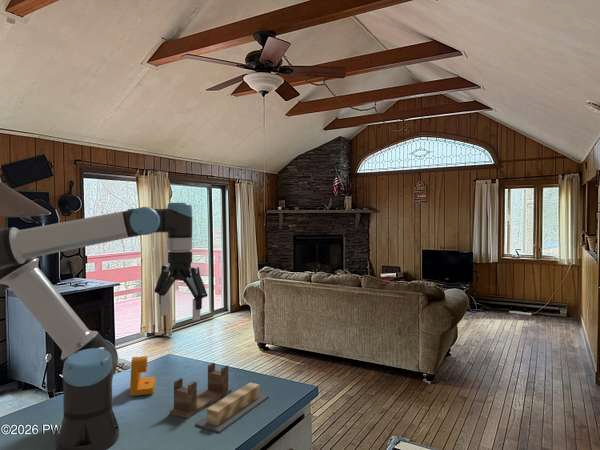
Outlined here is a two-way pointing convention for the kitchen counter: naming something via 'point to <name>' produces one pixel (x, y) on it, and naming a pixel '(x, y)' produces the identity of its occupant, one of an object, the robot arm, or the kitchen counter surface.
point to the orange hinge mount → (137, 383)
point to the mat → (233, 418)
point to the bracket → (193, 403)
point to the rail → (232, 403)
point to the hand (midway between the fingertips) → (180, 317)
